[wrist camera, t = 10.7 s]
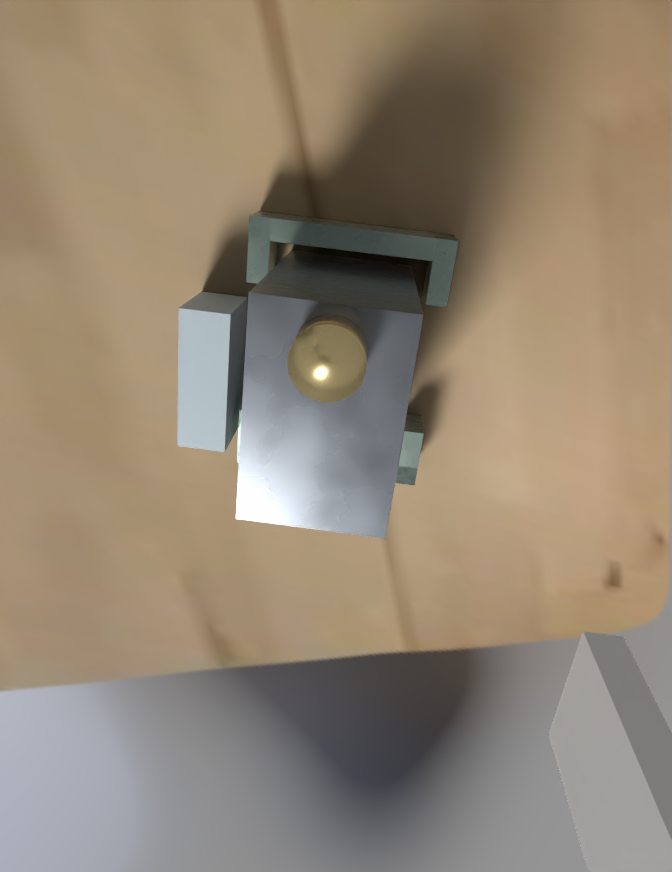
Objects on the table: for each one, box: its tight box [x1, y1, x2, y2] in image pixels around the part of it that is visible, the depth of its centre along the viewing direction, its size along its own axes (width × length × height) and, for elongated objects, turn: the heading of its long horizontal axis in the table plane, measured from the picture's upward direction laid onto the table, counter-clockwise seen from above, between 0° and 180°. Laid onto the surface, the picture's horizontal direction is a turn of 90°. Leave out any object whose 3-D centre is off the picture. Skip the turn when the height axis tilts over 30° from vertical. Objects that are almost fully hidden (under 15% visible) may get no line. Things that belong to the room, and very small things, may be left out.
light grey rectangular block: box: [177, 292, 248, 452], centre depth 32 cm, size 7×2×4 cm, turn 174°
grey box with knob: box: [236, 250, 424, 539], centre depth 28 cm, size 9×6×13 cm, turn 174°
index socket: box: [237, 211, 459, 485], centre depth 32 cm, size 12×10×2 cm
